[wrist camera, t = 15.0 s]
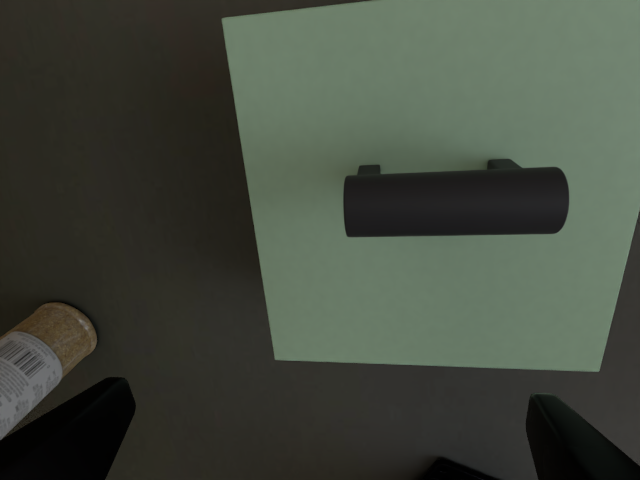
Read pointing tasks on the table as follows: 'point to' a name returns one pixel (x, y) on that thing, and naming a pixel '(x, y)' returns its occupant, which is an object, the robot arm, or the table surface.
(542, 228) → the green box lid
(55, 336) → the spice jar
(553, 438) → the robot arm
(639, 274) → the table surface
